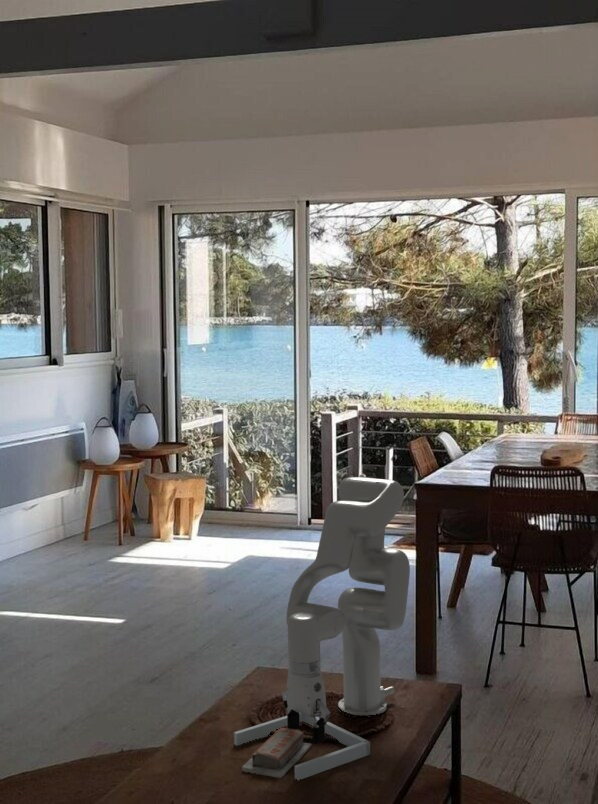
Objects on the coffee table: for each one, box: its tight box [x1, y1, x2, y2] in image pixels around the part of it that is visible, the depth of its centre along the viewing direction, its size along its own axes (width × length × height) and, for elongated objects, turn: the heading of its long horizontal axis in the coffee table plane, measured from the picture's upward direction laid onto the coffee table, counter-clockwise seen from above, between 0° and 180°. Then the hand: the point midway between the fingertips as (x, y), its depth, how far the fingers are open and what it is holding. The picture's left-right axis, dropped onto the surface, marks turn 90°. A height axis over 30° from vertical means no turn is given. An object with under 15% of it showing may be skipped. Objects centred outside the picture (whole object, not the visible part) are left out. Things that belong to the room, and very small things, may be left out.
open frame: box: [233, 713, 371, 781], centre depth 266 cm, size 21×25×3 cm
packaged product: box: [241, 728, 313, 779], centre depth 261 cm, size 18×5×10 cm
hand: (306, 735), depth 267 cm, fingers open, 9 cm apart
